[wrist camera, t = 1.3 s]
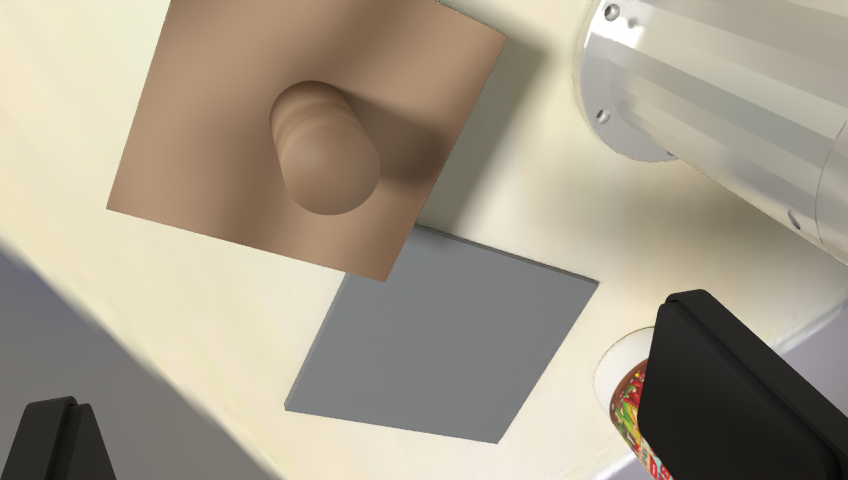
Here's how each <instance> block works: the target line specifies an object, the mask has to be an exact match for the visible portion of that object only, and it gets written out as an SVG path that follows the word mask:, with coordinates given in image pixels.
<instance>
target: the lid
mask: <svg viewBox="0 0 848 480" xmlns="http://www.w3.org/2000/svg"><path fill="white" fill-rule="evenodd" d="M507 38H508V36H506V35H504V34H503V33H501V32H499V31H497V30H495V29H493V28H491V27H489V26H487V25H485V24H483V23H481V22H479V21H477V20H475V19H473V18H471V17H469V16H467V15H465V14H463V13H461V12H459V11H457V10H455V9H452V8H450V7H448V6H446V5H444V4H442V3H440V2H438V1H436V0H171V1H170V5H169V8H168V11H167V14H166V17H165V21H164V24H163V27H162V30H161V33H160V36H159V40H158V43H157V46H156V49H155V52H154V56H153V59H152V62H151V65H150V68H149V72H148V75H147V78H146V81H145V84H144V87H143V91H142V94H141V97H140V100H139V103H138V107H137V110H136V113H135V116H134V119H133V123H132V126H131V129H130V132H129V135H128V138H127V142H126V145H125V148H124V151H123V154H122V158H121V161H120V164H119V167H118V170H117V174H116V177H115V180H114V183H113V186H112V189H111V193H110V196H109V199H108V203H107V207H106V209H108V210H112V211H116V212H120V213H123V214H127V215H131V216H135V217H138V218H142V219H146V220H150V221H154V222H157V223H161V224H165V225H169V226H173V227H176V228H180V229H184V230H188V231H192V232H195V233H199V234H203V235H207V236H210V237H214V238H218V239H222V240H226V241H229V242H233V243H237V244H241V245H245V246H248V247H252V248H256V249H260V250H264V251H267V252H271V253H275V254H279V255H282V256H286V257H290V258H294V259H298V260H301V261H305V262H309V263H313V264H317V265H320V266H324V267H328V268H332V269H336V270H339V271H343V272H347V273H351V274H354V275H358V276H362V277H366V278H370V279H373V280H377V281H381V282H386V280H387V278H388V276H389V274H390V272H391V270H392V268H393V266H394V264H395V262H396V260H397V258H398V256H399V254H400V252H401V250H402V248H403V246H404V244H405V242H406V240H407V238H408V236H409V234H410V232H411V230H412V228H413V226H414V224H415V222H416V220H417V218H418V216H419V214H420V212H421V210H422V208H423V206H424V204H425V202H426V200H427V198H428V196H429V194H430V192H431V190H432V188H433V186H434V184H435V182H436V180H437V178H438V176H439V174H440V172H441V170H442V168H443V166H444V164H445V162H446V160H447V158H448V156H449V154H450V152H451V150H452V148H453V146H454V144H455V142H456V140H457V138H458V136H459V134H460V132H461V130H462V128H463V126H464V124H465V122H466V120H467V118H468V116H469V114H470V112H471V110H472V108H473V106H474V104H475V102H476V100H477V98H478V96H479V94H480V92H481V90H482V88H483V86H484V84H485V82H486V80H487V78H488V76H489V74H490V72H491V70H492V68H493V66H494V64H495V62H496V60H497V58H498V56H499V54H500V52H501V50H502V48H503V46H504V44H505V42H506V40H507Z"/></svg>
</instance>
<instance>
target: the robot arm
mask: <svg viewBox="0 0 848 480" xmlns="http://www.w3.org/2000/svg"><path fill="white" fill-rule="evenodd" d="M606 8H607V10H606V12H605V9H606ZM604 12H605V13H604ZM573 82H574V90H575V98H576V101H577V104H578V107H579V110H580V113H581V115H582V117H583V119H584V121H585V122H586V124H587V125H588V127H589V129H590V130H591V132H592V133H593V134H594V135H595V136H596V137H597V138H598V139H599V140H600V141H601V142H602V143H604V144H605V145H607V146H608V147H610V148H611V149H613V150H614V151H615V152H617V153H619V154H621V155H623V156H625V157H628V158H630V159H633V160H638V161H644V162H667V161H671V160H676V159H681V160H683V161H684V162H686V163H687V164H689V165H691V166H692V167H694V168H695V169H697V170H698V171H700V172H701V173H703V174H705V175H706V176H708V177H709V178H711V179H712V180H714V181H716V182H717V183H719V184H720V185H722V186H723V187H725V188H726V189H728V190H730V191H731V192H733V193H734V194H736V195H737V196H739V197H741V198H742V199H744V200H745V201H747V202H748V203H750V204H751V205H753V206H755V207H756V208H758V209H759V210H761V211H762V212H764V213H765V214H767V215H769V216H770V217H772V218H773V219H775V220H776V221H778V222H780V223H781V224H783V225H784V226H786V227H787V228H789V229H790V230H792V231H794V232H795V233H797V234H798V235H800V236H801V237H803V238H804V239H806V240H808V241H809V242H811V243H812V244H814V245H815V246H817V247H819V248H820V249H822V250H823V251H825V252H826V253H828V254H829V255H831V256H833V257H834V258H836V259H837V260H838V261H840V262H841V263H843V264H845V265H846V266H848V0H593V2H592V4H591V5H590V7H589V9H588V11H587V14H586V16H585V19H584V21H583V24H582V26H581V29H580V31H579V36H578V40H577V44H576V49H575V53H574V66H573ZM637 424H638V428H639V431H640V433H641V435H642V436H643V438H644V439H645V441H646V442H647V443H648V445H649V446H650V447H651V449H652V450H653V452H654V453H655V454H656V456H657V457H658V458H659V460H660V461H661V463H662V464H663V465H664V467H665V468H666V470H667V471H668V472H669V474H670V475H671V476H672V478H673V479H674V480H848V418H847V417H846V416H845V415H844V414H843V413H842V412H841V411H840V410H839V409H837V408H836V407H835V406H834V405H833V404H832V403H831V402H830V401H829V400H827V399H826V398H825V397H824V396H823V395H822V394H821V393H820V392H819V391H817V390H816V389H815V388H814V387H813V386H812V385H811V384H810V383H809V382H807V381H806V380H805V379H804V378H803V377H802V376H801V375H799V373H797V372H796V371H795V370H794V369H793V368H792V367H791V366H789V364H787V363H786V362H785V361H784V360H783V359H782V358H781V357H780V356H779V355H777V354H776V353H775V352H774V351H773V350H772V349H771V348H770V347H769V346H767V345H766V344H765V343H764V342H763V341H762V340H761V339H760V338H759V337H758V336H756V335H755V334H754V333H753V332H752V331H751V330H750V329H749V328H748V327H746V326H745V325H744V324H743V323H742V322H741V321H740V320H739V319H738V318H736V317H735V316H734V315H733V314H732V313H731V312H730V311H729V310H728V309H726V308H725V307H724V306H723V305H722V304H721V303H720V302H719V301H718V300H716V299H715V298H714V297H713V296H712V295H711V294H710V293H708V292H707V291H705V290H702V289H697V290H691V291H685V292H680V293H674V294H671V295H669V296H668V297H667V298H666V301H665V303H664V304H661V306H660V307H659V309H658V313H657V318H656V323H655V327H654V332H653V337H652V342H651V347H650V352H649V357H648V362H647V367H646V371H645V376H644V381H643V386H642V391H641V396H640V401H639V406H638V411H637ZM0 480H116V477H115V474H114V471H113V468H112V465H111V462H110V459H109V456H108V454H107V451H106V448H105V445H104V442H103V439H102V436H101V433H100V430H99V427H98V424H97V421H96V418H95V415H94V412H93V410H92V408H91V406H90V404H87V403H86V404H80V405H78V403H77V401H76V399H75V398H74V397H72V396H68V397H62V398H56V399H50V400H45V401H38V402H33V403H29V404H28V405H27V406H26V408H25V410H24V413H23V416H22V418H21V421H20V424H19V427H18V430H17V433H16V436H15V439H14V442H13V444H12V447H11V450H10V453H9V456H8V459H7V462H6V464H5V467H4V470H3V473H2V476H1V479H0Z"/></svg>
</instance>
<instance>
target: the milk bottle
mask: <svg viewBox="0 0 848 480" xmlns="http://www.w3.org/2000/svg"><path fill="white" fill-rule="evenodd" d="M653 332H654V327H653V328H645V329H642V330H639V331H635V332H633V333H631V334H629V335H627V336H625V337H624V338H622V339H621V340H619V341H618V342H617V343H615V344H614V345H613V346H612V347H611V348H610V349H609V350H608V351H607V352H606V353H605V354H604V356H603V357H602V359H601V360H600V362H599V363H598V365H597V368H596V370H595V373H594V377H593V390H594V395H595V398H596V400H597V401H598V403H599V404H600V406H601V407H602V409H603V410H604V412H605V413H606V415H607V416H608V417H609V419H610V420H611V422H612V423H613V424H614V426H615V427H616V428H617V430H618V431H619V433H620V434H621V435H622V437H623V438H624V440H625V441H626V442H627V444H628V445H629V446H630V448H631V449H632V451H633V452H634V453H635V455H636V456H637V457H638V459H639V460H640V461H641V463H642V464H643V466H644V467H645V468H646V470H647V471H648V472H649V474H650V475H651V477H652V478H653V479H654V480H674V479H673V478H672V476H671V475H670V474H669V472H668V471H667V470H666V468H665V467H664V465H663V464H662V463H661V461H660V460H659V458H658V457H657V456H656V454H655V453H654V452H653V450H652V449H651V447H650V446H649V445H648V443H647V442H646V441H645V439H644V438H643V436H642V435H641V433H640V431H639V428H638V424H637V411H638V406H639V401H640V396H641V391H642V386H643V381H644V376H645V371H646V367H647V362H648V357H649V352H650V347H651V342H652V337H653Z"/></svg>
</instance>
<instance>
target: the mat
mask: <svg viewBox="0 0 848 480" xmlns="http://www.w3.org/2000/svg"><path fill="white" fill-rule="evenodd" d="M597 286H598V284H597V283H596V282H595V281H594V280H592V279H589V278H586V277H583V276H580V275H576V274H573V273H570V272H567V271H564V270H560V269H557V268H554V267H551V266H548V265H545V264H541V263H538V262H535V261H532V260H529V259H525V258H522V257H519V256H516V255H513V254H510V253H506V252H503V251H500V250H497V249H494V248H490V247H487V246H484V245H481V244H478V243H475V242H471V241H468V240H465V239H462V238H459V237H455V236H452V235H449V234H446V233H443V232H439V231H436V230H433V229H430V228H427V227H424V226H420V225H417V224H414V226H413V228H412V230H411V232H410V234H409V236H408V238H407V240H406V242H405V244H404V246H403V248H402V250H401V252H400V254H399V256H398V258H397V260H396V262H395V264H394V266H393V268H392V270H391V272H390V274H389V276H388V278H387V280H386V282H381V281H377V280H373V279H370V278H366V277H362V276H358V275H354V274H351V273H347V272H346V275H345V277H344V279H343V281H342V283H341V285H340V287H339V289H338V291H337V294H336V296H335V298H334V300H333V302H332V304H331V306H330V308H329V310H328V313H327V315H326V317H325V319H324V321H323V323H322V325H321V327H320V329H319V332H318V334H317V336H316V338H315V340H314V342H313V344H312V346H311V348H310V351H309V353H308V355H307V357H306V359H305V361H304V363H303V365H302V367H301V369H300V372H299V374H298V376H297V378H296V380H295V382H294V384H293V386H292V388H291V391H290V393H289V395H288V397H287V399H286V401H285V403H284V406H285V411H292V412H298V413H304V414H311V415H317V416H323V417H330V418H336V419H342V420H349V421H355V422H361V423H368V424H374V425H380V426H386V427H393V428H399V429H405V430H412V431H418V432H424V433H431V434H437V435H443V436H450V437H456V438H462V439H469V440H475V441H481V442H488V443H494V444H498V442H499V441H500V439H501V438H502V436H503V435H504V433H505V431H506V430H507V428H508V427H509V425H510V423H511V422H512V420H513V419H514V417H515V416H516V414H517V412H518V411H519V409H520V408H521V406H522V405H523V403H524V401H525V400H526V398H527V397H528V395H529V394H530V392H531V390H532V389H533V387H534V386H535V384H536V382H537V381H538V379H539V378H540V376H541V375H542V373H543V371H544V370H545V368H546V367H547V365H548V364H549V362H550V360H551V359H552V357H553V356H554V354H555V353H556V351H557V349H558V348H559V346H560V345H561V343H562V341H563V340H564V338H565V337H566V335H567V334H568V332H569V330H570V329H571V327H572V326H573V324H574V323H575V321H576V319H577V318H578V316H579V315H580V313H581V311H582V310H583V308H584V307H585V305H586V304H587V302H588V300H589V299H590V297H591V296H592V294H593V293H594V291H595V289H596V288H597Z"/></svg>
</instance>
